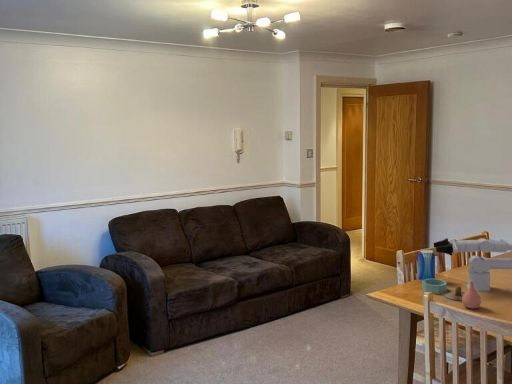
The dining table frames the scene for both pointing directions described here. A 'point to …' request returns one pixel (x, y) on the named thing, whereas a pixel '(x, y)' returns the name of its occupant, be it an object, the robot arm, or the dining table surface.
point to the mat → (448, 299)
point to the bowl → (434, 286)
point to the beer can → (426, 265)
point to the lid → (455, 294)
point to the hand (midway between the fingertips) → (434, 247)
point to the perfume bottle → (471, 298)
